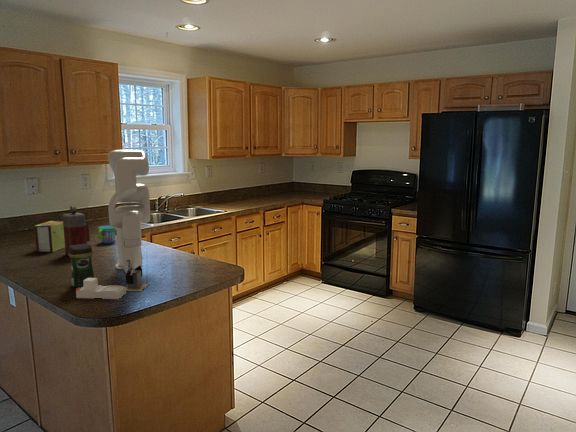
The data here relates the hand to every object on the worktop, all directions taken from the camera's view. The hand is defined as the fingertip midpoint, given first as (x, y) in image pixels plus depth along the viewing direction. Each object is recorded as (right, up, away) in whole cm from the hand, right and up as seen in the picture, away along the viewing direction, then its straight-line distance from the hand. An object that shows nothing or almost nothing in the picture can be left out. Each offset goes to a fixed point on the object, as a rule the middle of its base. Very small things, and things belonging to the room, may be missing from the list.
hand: (134, 280), depth 193 cm
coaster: (0, -4, +1) cm, 4 cm away
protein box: (-73, +8, +69) cm, 101 cm away
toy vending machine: (-52, +6, +57) cm, 77 cm away
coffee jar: (-25, -3, +5) cm, 25 cm away
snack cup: (-47, +11, +86) cm, 99 cm away
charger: (0, -3, +1) cm, 3 cm away
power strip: (-11, -5, -9) cm, 15 cm away
